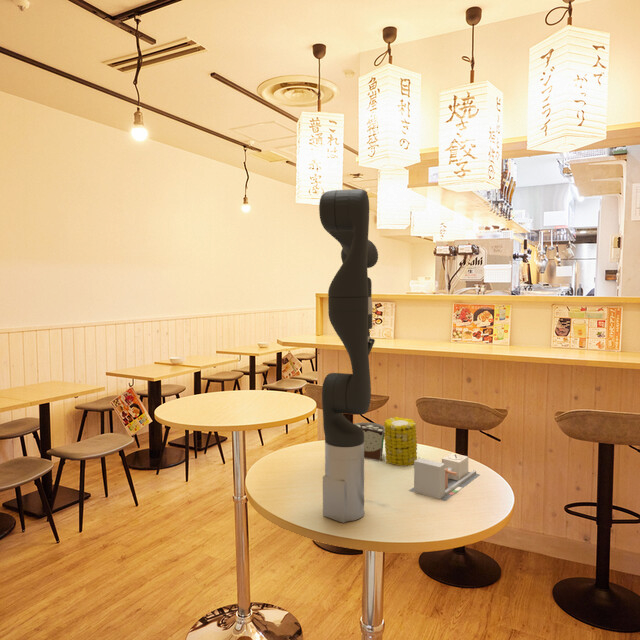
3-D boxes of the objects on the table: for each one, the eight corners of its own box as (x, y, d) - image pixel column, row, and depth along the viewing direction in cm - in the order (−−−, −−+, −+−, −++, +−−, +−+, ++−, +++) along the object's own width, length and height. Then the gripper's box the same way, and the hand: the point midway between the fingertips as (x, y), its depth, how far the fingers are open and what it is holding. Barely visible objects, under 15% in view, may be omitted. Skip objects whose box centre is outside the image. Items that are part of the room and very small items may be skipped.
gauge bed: (445, 506, 119) (445, 468, 119) (408, 496, 125) (409, 459, 125) (480, 479, 136) (480, 446, 135) (446, 471, 142) (446, 439, 142)
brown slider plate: (455, 491, 124) (455, 472, 123) (429, 485, 128) (430, 466, 128) (457, 490, 125) (457, 471, 124) (432, 483, 129) (432, 465, 129)
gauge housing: (454, 484, 129) (454, 464, 128) (436, 479, 132) (436, 460, 132) (468, 474, 136) (468, 455, 135) (451, 470, 139) (451, 451, 138)
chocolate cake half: (392, 456, 156) (392, 425, 156) (384, 462, 151) (384, 430, 150) (358, 449, 163) (358, 420, 162) (349, 455, 157) (349, 424, 157)
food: (420, 468, 150) (405, 480, 142) (387, 452, 156) (371, 462, 148) (430, 422, 146) (415, 432, 138) (396, 408, 153) (379, 416, 145)
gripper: (356, 313, 135) (356, 376, 136) (382, 312, 145) (382, 370, 146) (335, 313, 140) (335, 373, 141) (361, 311, 150) (361, 367, 151)
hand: (359, 371), depth 143 cm, fingers closed
